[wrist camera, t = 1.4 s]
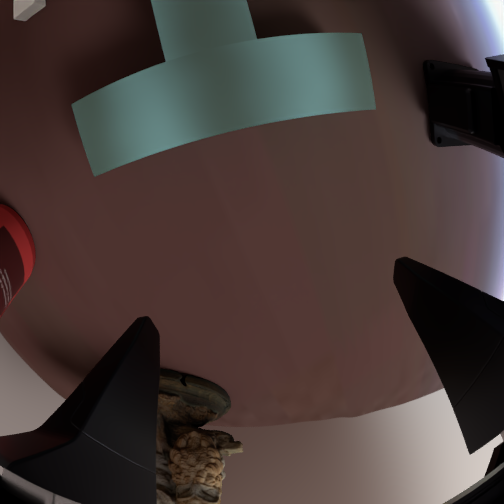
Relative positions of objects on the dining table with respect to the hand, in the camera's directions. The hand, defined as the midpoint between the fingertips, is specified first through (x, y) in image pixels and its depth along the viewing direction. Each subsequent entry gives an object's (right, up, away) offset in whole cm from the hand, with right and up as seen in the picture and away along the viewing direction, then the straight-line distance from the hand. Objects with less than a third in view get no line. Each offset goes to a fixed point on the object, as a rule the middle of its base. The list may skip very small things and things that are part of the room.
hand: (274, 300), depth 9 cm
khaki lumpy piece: (-11, -15, +19) cm, 27 cm away
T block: (-3, +14, +2) cm, 14 cm away
